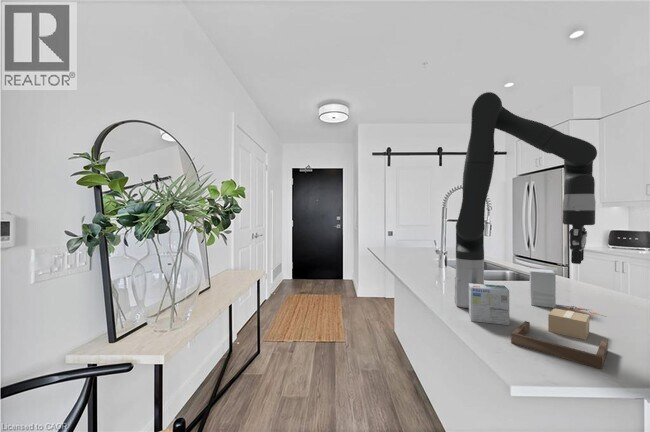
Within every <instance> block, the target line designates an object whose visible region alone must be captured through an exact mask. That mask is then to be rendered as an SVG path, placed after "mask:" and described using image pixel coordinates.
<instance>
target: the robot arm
mask: <svg viewBox="0 0 650 432" xmlns="http://www.w3.org/2000/svg"><path fill="white" fill-rule="evenodd" d="M470 121H471V125H470V135H469V139H468V145H467V150H466V154H465V160H464V165H463V172H462V173H463V174H462V201H461V206H460V210H459V214H458V217H457V221H456V223H455V277H454V303H455V305H456V307H457V308H458V307H459V308H463V309H468V310H469V283H472V284H485V247H484V245H485V244H484V243H485V242H484V238H485V237H484V236H485V233H484V232H485V229H486V228H485V226H486V225H485V212H486V201H487V198H488V194H489V190H490V187H491V184H492V183H491V182H492V179H493V177H492V176H493V173H494V172H493V171H494V166H495V165H494V164H495V131H496V129H497V130H499V131H501V132H504V133H506V134H509V135H511V136H513V137H515V138H517V139H519V140H521V141H522V142H524V143H526V144H528V145H530V146H532V147H534V148H536V149H538V150H540V151H541V152H544V153H545V154H553V155H555V156H556V157H558V158H560V159H562V160H563V163H564V164H563V167H564V177H565V180H564V186H563V187H564V190H563V191H564V192H563V193H564V194H563V201H562V224H563V225H565V226H566V225H567V226H569V225H571V226H572V228H570V230H569V231H568V236H569V241H568V242H569V250H570V251H571V256H570V257H571V259H570V262H571V264H574V265H575V264H576V265H581V264H582V261H584V260H585V259H584V255H585V254H584V252H585V251H584V250H585V248H586V245H587V237H588V231H587V229H586V228H585V226H594V225H595V224H596V196H595V187H596V185H595V184H596V181H595V177H594V175H593V172H594V169H593V167H594V161H595V160H596V158H597V156H598V150H597V148H596V146H594V144H592V143H590V142H589V141H587V140H584V139H581V138H578V137H574V136H572V135H570V134H565V133H563V132H561V131H559V130H558V129H556V128H553V127H551V126H549V125H546V124H544V123H542V122H539V121H535V120H531V119H528V118H524V117H521V116H519V115H516V114H514V113H513V112H511V111H510V110H508V109H506V108H505V107H504V106H503V104H502V100H501V98H500V97H499V96H498V94H496V93H495V92H491V91H489V92H488V91H487V92H483V93H481V94H479V96H477V97H476V99H474V100H473V103H472V105H471V120H470Z"/></svg>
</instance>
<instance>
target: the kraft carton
mask: <svg viewBox="0 0 650 432" xmlns="http://www.w3.org/2000/svg"><path fill="white" fill-rule="evenodd" d="M547 319H548V322H547V323H548V324H547V327H548V329H547V330H548V332H550V333H555V334H559V335H563V336H567V337H571V338H576V339H579V338H580V340H584V341H587V338H588V336H589V333H590V314H587V313H586V314H585V313H581V312H575V311H567V310H565V309H562V308H561V309H559V308H553V309H552V310H551V311H550V312H549V313H548V317H547Z"/></svg>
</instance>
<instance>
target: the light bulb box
mask: <svg viewBox="0 0 650 432" xmlns="http://www.w3.org/2000/svg"><path fill="white" fill-rule="evenodd" d="M468 317H469V318H470V319H469V320H470V321H471V322H475V323H485V324H486V323H487V324H494V325H495V324H496V325H504V326H510V325H511V324H510V320H511V319H510V289H509V288H507V287H506V286H505V284H503V285H501V284H486V283H484V284H472V283H469V309H468Z"/></svg>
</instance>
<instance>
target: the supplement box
mask: <svg viewBox="0 0 650 432" xmlns="http://www.w3.org/2000/svg"><path fill="white" fill-rule="evenodd" d="M556 275H557V274H556V273H555V271H554V270H553V269H541V268H529V302H530V304H531V305H530V306H534V307H535V306H536V307H545V308H550V309H551V308H553V309H554V308H555V309H557V307H556V306H557V305H556V301H557V300H556V299H557V297H556V295H557V293H556V288H557V287H556V282H557V281H556V279H557V278H556Z"/></svg>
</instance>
